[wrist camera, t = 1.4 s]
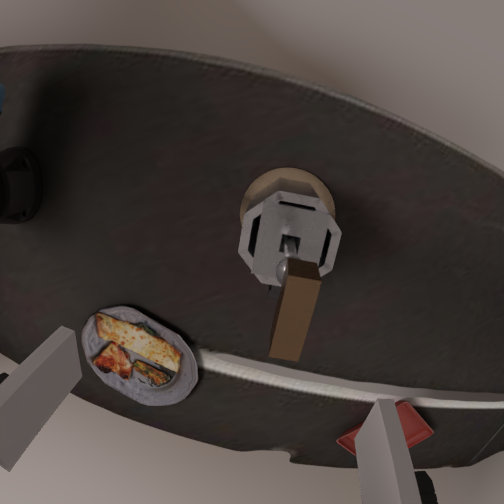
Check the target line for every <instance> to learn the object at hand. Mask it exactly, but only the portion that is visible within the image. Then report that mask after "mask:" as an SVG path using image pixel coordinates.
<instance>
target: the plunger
mask: <svg viewBox="0 0 504 504" xmlns="http://www.w3.org/2000/svg"><path fill="white" fill-rule="evenodd" d="M299 241H300V237H295V236H290V235H285V234H282V238H281V243H280V248H279V250H284V258H283V259H281V260H280V261H279V262H278V264H277V267H276V278H277V280H278V282H279V283H280V284H281V290H280V294H279V298H278V303H277V307H276V312H275V316H274V320H273V324H272V329H271V334H270V347H269V357H274V358H280V359H286V360H292V361H298V360H299V357H300V354H301V351H302V348H303V344H304V341H305V338H306V335H307V331H308V328H309V324H310V321H311V318H312V314H313V311H314V307H315V304H316V300H317V297H318V293H319V289H320V286H321V282H322V281H321V277H320V273H319V269H318V265H317V263H315V262H310V261H305V260H302V259H300V258H299V257H297V250H298V246H299Z"/></svg>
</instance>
